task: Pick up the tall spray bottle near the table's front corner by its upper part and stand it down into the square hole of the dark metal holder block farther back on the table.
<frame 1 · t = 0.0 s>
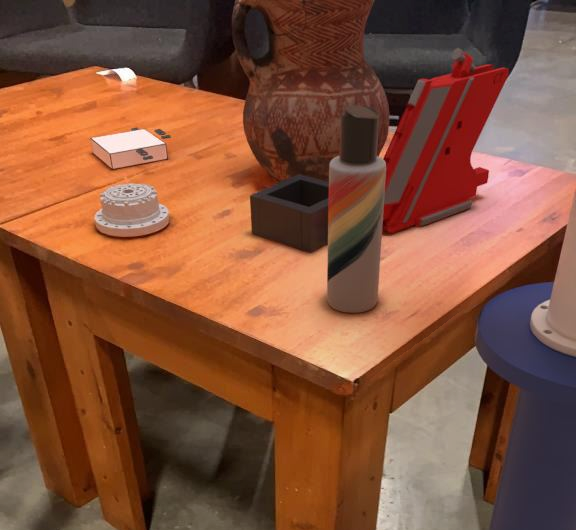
jug: (315, 177, 117), on the table
container: (135, 156, 126), on the table
spray bottle: (352, 303, 86), on the table
tool: (415, 221, 104), on the table
holder: (304, 230, 102), on the table
mechanical component: (133, 225, 104), on the table
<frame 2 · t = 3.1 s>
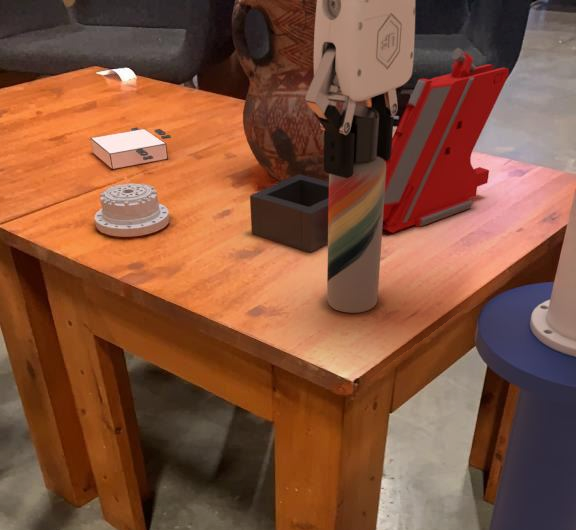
hand: (357, 163, 76), 15 cm above the table, tool pointing down, fingers closed on spray bottle, 5 cm apart
spray bottle: (352, 303, 86), on the table, touching gripper
everything else where it was.
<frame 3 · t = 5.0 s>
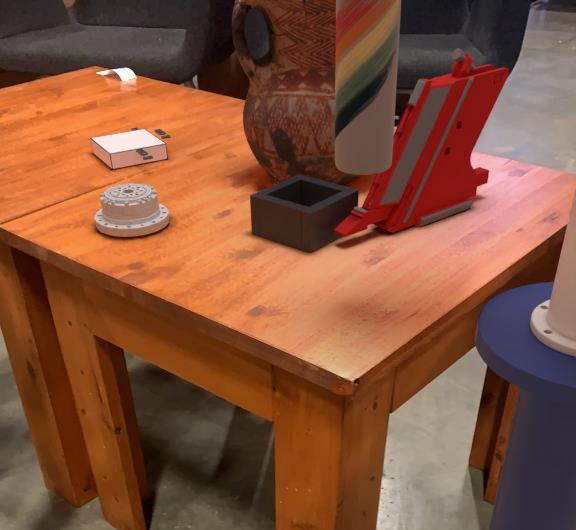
spray bottle: (363, 168, 77), point 15 cm above the table, touching gripper
everything else where it was.
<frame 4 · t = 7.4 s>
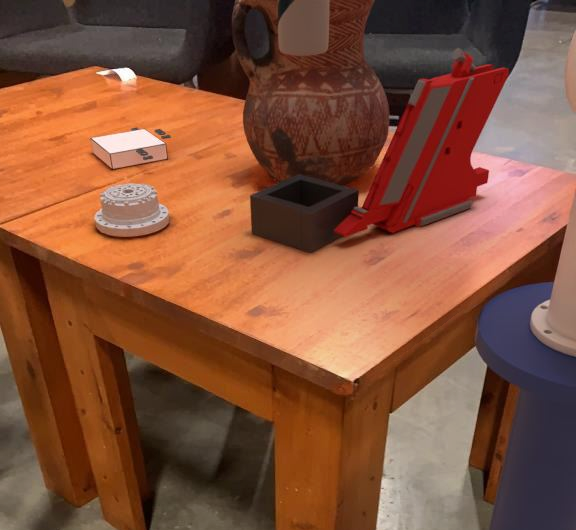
spray bottle: (303, 52, 87), point 21 cm above the table, touching gripper
everything else where it was.
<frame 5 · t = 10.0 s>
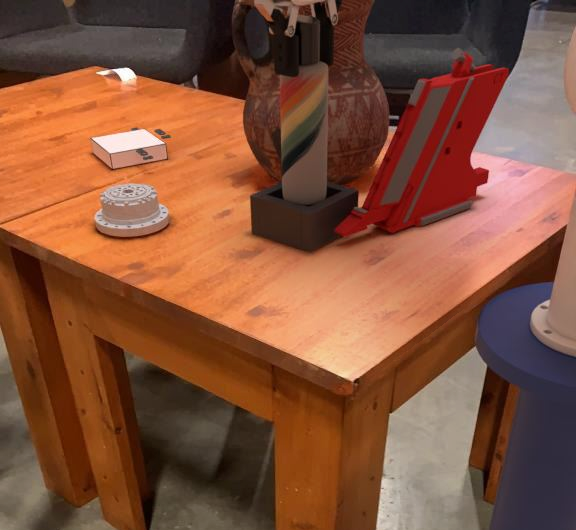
hand: (304, 67, 89), 19 cm above the table, tool pointing down, fingers closed on spray bottle, 5 cm apart
spray bottle: (304, 199, 99), point 4 cm above the table, touching gripper
everything else where it was.
when the fingers open (15 cm above the table, at t = 11.7 s): spray bottle stays where it is, resting in holder.
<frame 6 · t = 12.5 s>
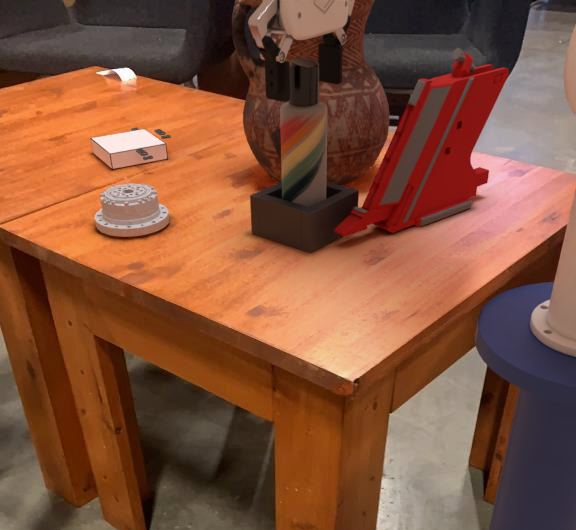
hand: (304, 90, 90), 17 cm above the table, tool pointing down, fingers open, 9 cm apart
spray bottle: (304, 232, 102), resting in holder
everything else where it was.
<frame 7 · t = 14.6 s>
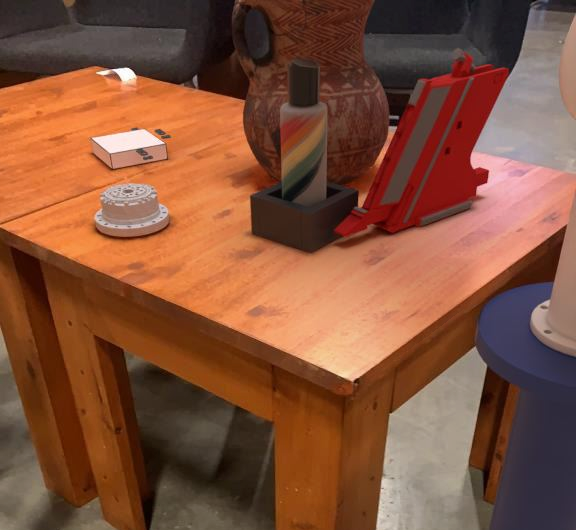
nothing on the table moved.
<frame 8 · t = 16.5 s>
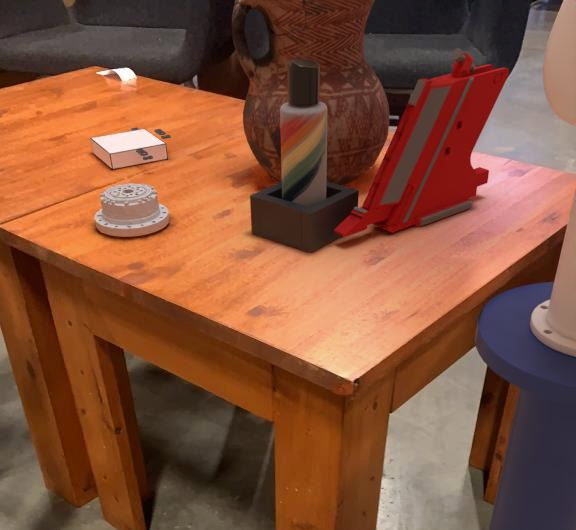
nothing on the table moved.
at the end: spray bottle 0.1 cm off-centre in the holder, point 0.0 cm above the holder's base; spray bottle tilted 0°; the gripper is holding nothing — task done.
